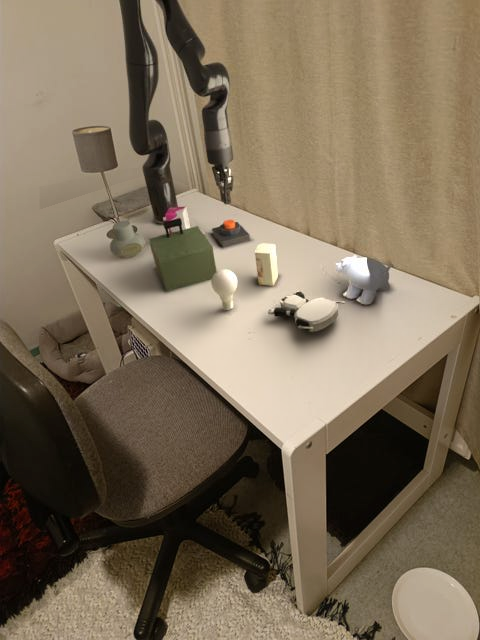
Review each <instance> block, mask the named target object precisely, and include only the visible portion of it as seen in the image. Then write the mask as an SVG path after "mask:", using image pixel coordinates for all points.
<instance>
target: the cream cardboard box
mask: <svg viewBox="0 0 480 640" xmlns="http://www.w3.org/2000/svg"><path fill="white" fill-rule="evenodd" d="M276 249H277V248H276V243H266V242H260V243H259V244H258V245H257V246H256V249H255V251H254V256H255V264H256V274H257V282H258V285H261V286H270V287H271V286H274V285H275V284H276V282H277V279H278V277H279V275H278V274H279V273H278V262H277V252H276V251H277V250H276Z"/></svg>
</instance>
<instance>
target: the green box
mask: <svg viewBox="0 0 480 640" xmlns="http://www.w3.org/2000/svg"><path fill="white" fill-rule="evenodd" d="M149 245H150V250H151V253H152V257H153V261H154V264H155V268H156V271H157V273H158V275H159V278H160V280H161V282H162V285H163V286H164V288H165V290H166V292H170V291H174V290H177V289H181V288H184V287H188V286H191V285H194V284H198V283H201V282H205V281H207V280H212V277H213V275H214V274H215V273H216V272H217V271H218V270H217V266H216V265H217V264H216V259H215V253H214V248H213V249H210V250H206V251H202V252H199V253H195V254H192V255H188V256H184V257H181V258H177V259H173V260H170V261H166V262H162V263H159V261H158V259H157V257H156V255H155V252H154V250H153V248H152V246H151V244H150V243H149Z"/></svg>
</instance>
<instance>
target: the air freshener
mask: <svg viewBox="0 0 480 640" xmlns="http://www.w3.org/2000/svg"><path fill="white" fill-rule="evenodd" d="M112 232H113V234H114V237H113V239H112V240H111V241H110V244H109V249H110V251H111V253H112V254H114V255H115V256H116V257H119V258H132V257H135V256H137V255H138V254H139V253H141V252H142V251H143V249H144V248H145V245H146V241H145V238H144V237H143V236H142V235H141V234H139V233H137V232H135V231H134V228H133V225H132V222H131V221H129V220H120V221H117V222H115V223H114V224H113V225H112Z"/></svg>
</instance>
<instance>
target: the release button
mask: <svg viewBox="0 0 480 640" xmlns="http://www.w3.org/2000/svg"><path fill="white" fill-rule="evenodd" d="M235 222H236V221H235V220H234V219H226V220H224V221H223V223H222V224H224V229H233V228H235Z"/></svg>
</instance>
